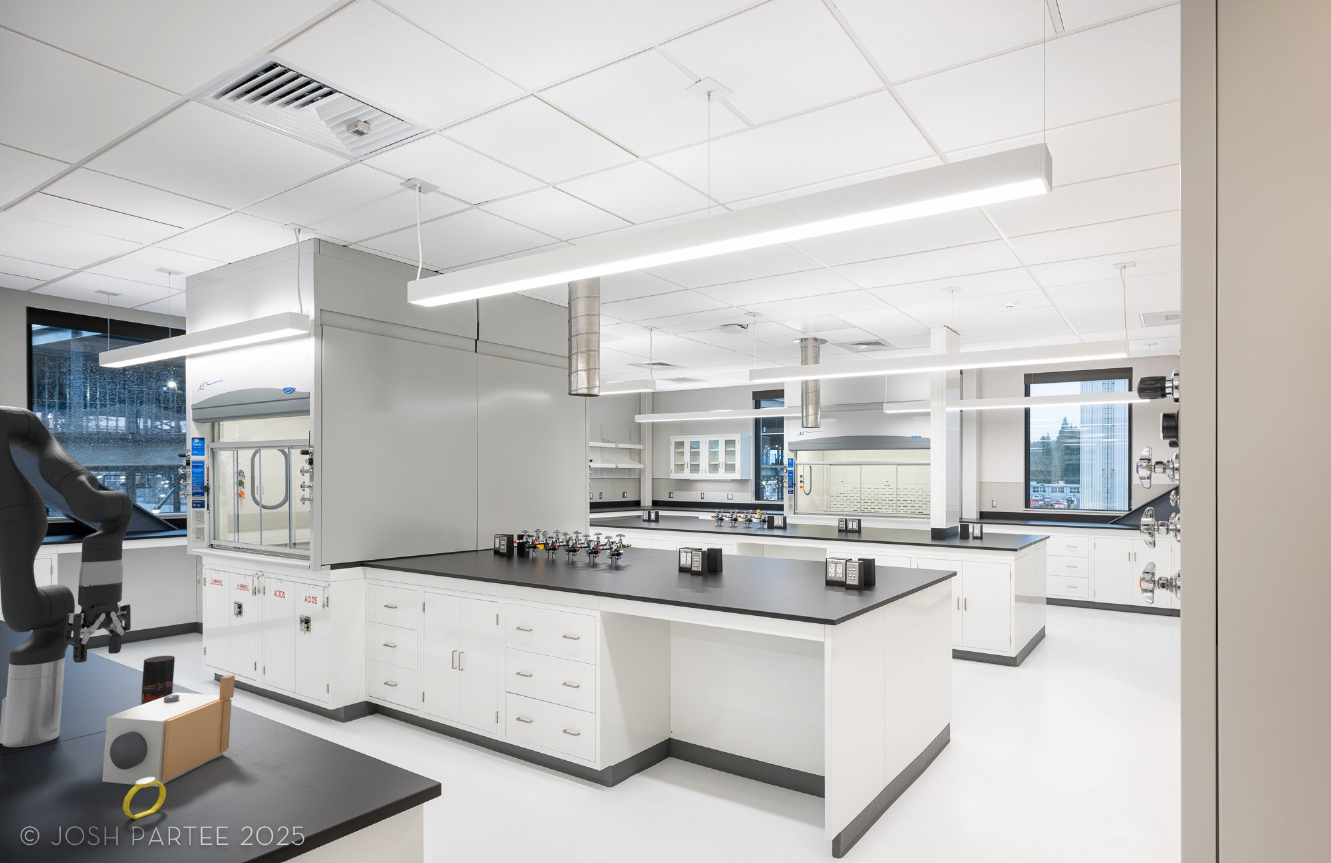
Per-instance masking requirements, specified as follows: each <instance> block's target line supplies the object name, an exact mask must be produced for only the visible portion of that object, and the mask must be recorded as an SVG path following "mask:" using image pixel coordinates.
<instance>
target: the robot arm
mask: <svg viewBox="0 0 1331 863" xmlns="http://www.w3.org/2000/svg"><path fill="white" fill-rule="evenodd" d="M14 447H18V448H20V449H22V450H24V451H25V452H27V453H30V454H31V455H32V456H33V457H34V458H35V459H36V462H37V469H38V471H39V475H40V477H41V478H42V479H43V481H45V483H46V484H48V485H49V486H50V487H51V488H52V489H53V490H55V492H57V493H58V494H60V496H62V497H63V499H64V502H65V503H66V504H67V506H68V508H69V509H70V512H71V513H72V514H73V515H74V517H75V518H77V519H78V520H80V521H83V522H84V523H89V524H99V527H98V529H97V531H96V532H94V533H91V534H89V535H86V536H85V537H84V538H83V539H82V544H81V560H80V568H79V573H78V588H77V589H78V592H77V605H78V606H80V612H78V613H76V612H75V610H76V604H75V603H76V602H75V597H74V594H73V592H72V590H71V589H70V588H69V587H67V586H65V585H63V584H48V585H42V586H37V582H36V578H35V560H36V558H37V554H38V553H39V550H40V548H41V547H42V544H43V542H44V539H45V537H46V535H47V533H48V527H49V521H48V519H49V518H48V515H47V510H46V506H45V500H44V498H43V496H42V494H41V493H40V491H39V490H38V488H36V486H35V485H34V484H33V482H31V481H30V480H29V478H27V477H26V475H25V474H23V472H22V470H20V468H19V467H18V465H17V464H16V462H15V460H14V458H13V454H12V452H11V448H14ZM98 488H99V480H98V477H96V475H95V474H93V473H92V472H91V471H90V470H89V469H88V468H86V467H85V466H84V465H83V464H81V463H80V462H79V461H78V460H76V459H75V458H74V457H73V456H72V455H71V454H70V453H68V451H67V450H66V449H65V448H64V447H63V446H62V445H61V443H60V441H58V439H57V438H56V437H55V436H54V435H53V434H52V432H51V431H50V430H49V429H48V427H47V426H46V425H45V423H44V422H43V420H41V418H40V417H38V415H37V414H35V413H34V412H33V411H32V410H29V409H28V408H23V407H17V406H11V405H10V406H8V405H7V406H6V405H0V606H1V612H2V613H1V614H2V618H3V621H4V622H5V624H6V626H7V627H8V628H9V629H10V630H12V631H13V632H16V633H26V632H31V631H32V632H31V633H30V635H29V637H28V638H27V639H26V640H25V641H23V642H22V643H20V644H19V645H17V646H15V647H14V648H12V650H11V651H10V653H9V660H8V663H9V664H8V672H7V673H8V674H7V686H6V696H5V697H3V699H2V702H1V711H0V712H1V714H0V744H2V746H3V747H6V748H22V747H29V746H31V747H32V746H36V745H41V744H44V743H47V742H50V741H52V740H54V739H56V738H58V737H60V729H61V716H62V703H63V702H62V700H63V689H64V678H65V677H64V676H65V675H64V674H65V662H66V661H65V660H66V652H67V648H68V647H69V645H70V644H71V645H72V646H73V647H72V648H73V651H72V652H73V653H72V659H73V661H74V663H85V662H87V659H88V643H87V642H89V639H90V638H91V636H92V635H94V634H95V632H96V631H98V630H99V631H100V630H101V629H103V630H106V632H107V633H108V634H109V636H108V649H107V650H108V653H109V655H110V654H111V655H112V654H114V655H115V654H119V653H121V650H122V643H123V642H122V638H123V636H124V634H125V633H126V632H130V630H131V627H132V626H131V624H132V623H131V620H132V617H131V613H132V612H131V609H132V608H131V604H128V603H126V604H118V603H120V602H122V599H123V580H124V579H123V578H124V577H123V576H124V567H123V566H124V565H123V560H122V559H123V542H124V539H125V537H126V533H127V530H128V528H129V525H130V522H131V520H132V517H133V512H134V505H133V501H132V499H131V497H130V496H129V494H127V493H126V492H124V491H120V490H98ZM123 623H124V624H123Z"/></svg>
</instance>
